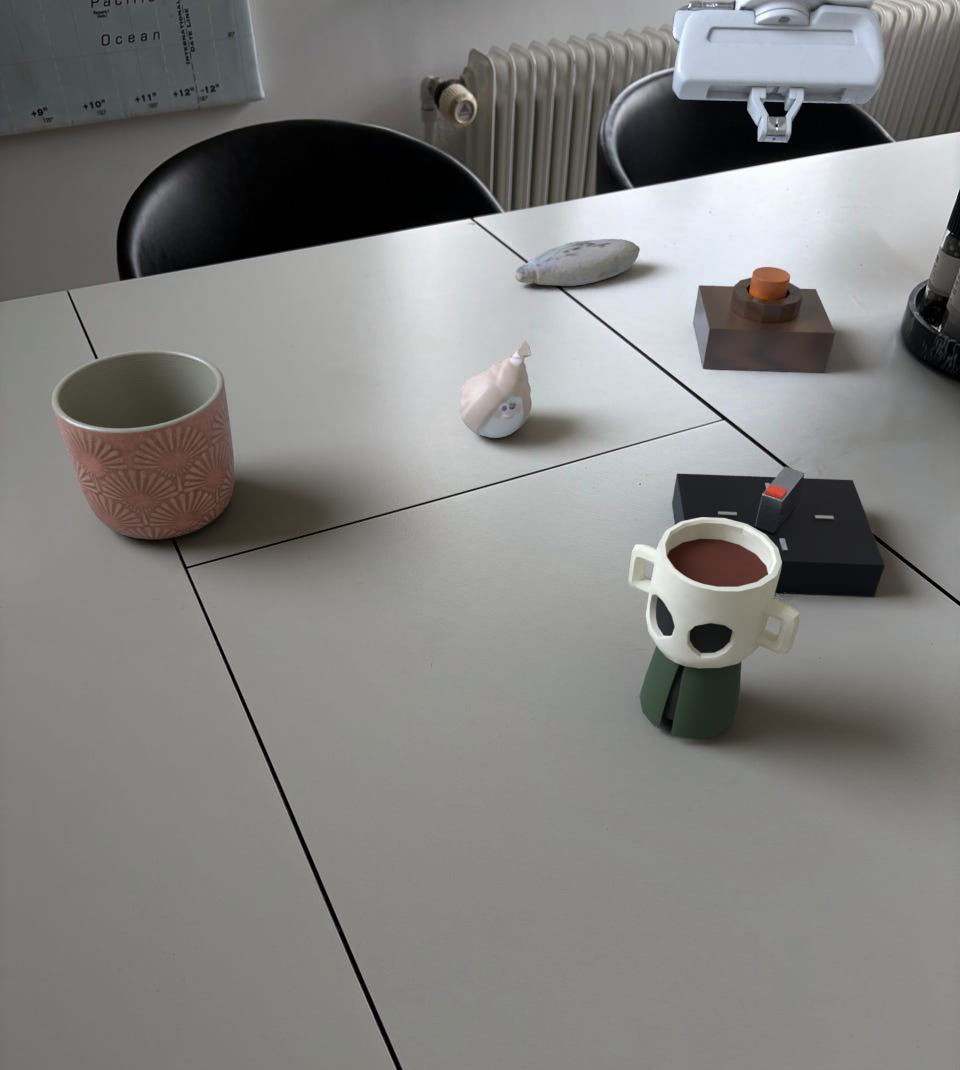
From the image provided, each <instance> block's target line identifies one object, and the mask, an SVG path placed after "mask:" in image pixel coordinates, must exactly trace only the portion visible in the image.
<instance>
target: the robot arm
mask: <svg viewBox="0 0 960 1070" xmlns="http://www.w3.org/2000/svg"><path fill="white" fill-rule="evenodd" d="M874 3H875V0H732V1H731V0H727V1H726V0H715V1H703V0H691V1H689V2H688V4H685V5H682V6H681V7H680V8H678V9H677V10H676V11H675V13H674V15H673V18H672V37H673V40H674V42H675V44H677V47H678V48H677V52H676V56H675V60H674V68H673V74H672V83H671V84H672V87H671V89H672V91H673V92H674V94H675V95H676V97H677V98H678V99H679V100H686V101H687V100H689V101H690V100H693V101H727V102H729V101H730V102H732V101H735V102H747V103H746V104H747V108H746V109H747V112H748V114H749V116H750V117H751V119H752V121H753V122H754V124H755V125H756V126H757V142H760V143H761V142H764V143H789V140H790V138H791V135H792V128H793V127H792V126H793V124H792V123H793V121H794V119H795V117H796V116H797V114H798V112H799V111H800V108H801V106H802V104H803V103H807V104H808V103H811V104H812V103H813V104H814V103H815V104H849V105H850V104H851V105H852V104H853V105H855V104H856V105H865V104H867V103H868V102H869V101H870V100H871V99H872V98H873V97H874V95H875V94H876V93H877V92H878V90H879V89H880V86H881V84H882V82H883V80H884V77H885V47H884V39H883V37H884V36H883V29H882V28H883V27H882V25H881V22H880V20H879V19H880V18H879V17H878V16H877V14H876V13H875V12H874V11H873V10H872V8H873V5H874ZM765 102H767V103H769V102H770V103H771V102H772V103H773V102H774V103H784V111H785V112H787V113H786V115H784V116H769V113H768V111H767V109H766V108H765V105H764V103H765Z"/></svg>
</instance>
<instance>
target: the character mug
mask: <svg viewBox="0 0 960 1070" xmlns="http://www.w3.org/2000/svg"><path fill="white" fill-rule="evenodd" d="M631 551H632V552H631V555H630V562H629V563H630V564H629V571H628V578H627V580H628V585H629V586H630V587H632V588H633V589H634V590H636V591H637V592H640V593H642V594H645V595H647V604H646V609H645V620H646V624H647V632H648V634H649V636H650V637H651V640H653V642H654V643H655V645H656V646H655V648H654V651H653V653H652V657H651V659H650V661H649V665H648V666H647V670H646V673H645V676H644V679H643V682H642V686H641V690H640V693H639V699H640V706H641V711H642V713H643V715H644V716H645V717H646V718H647V719H648V720H649V723H651V724H652V725H653V726H654V727H656V728H658V729H659V728H660V724H661V720H662V717H663V716H664V717H666V718H667V719H668V720H671V721H672V726H671V730H670V735H672V736H673V737H675V738H682V739H689V740H702V739H706V738H712V737H716V736H719V735H720V734H721V733H722V732H723V731H724V730H725V729H726V728H728V727H729V726H730V725H731V724H733V722H734V719H735V717H736V714H737V711H738V709H739V702H740V701H739V700H740V693H741V677H742V662H743V661H744V660H745V659H747V658H749V657H750V656H751V655H752V654H754V653H755V651H756V650H758V648H759V647H762V648H765V649H766V650H769V651H771V652H773V653H776V654H781V655H787V654H789V653H790V652H791V650H792V649H793V646H794V644H795V643H794V642H795V639H796V636H797V634H798V633H797V632H798V629H799V625H800V623H801V618H800V611H799V610H797V609H796V608H795V607H794V606H792V605H789V604H787V603H784V602H782V601H780V600H777V599H775V594H776V593H775V591H776V587H777V583H778V579H779V576H780V572H781V566H782V561H781V557H780V553H779V550H778V547H777V546H776V545H775V544H774V543H773V542H772V541H771V540H770V539H769V537H768V536H767V535H766V534H764V533H762V532H760V531H759V530H757V529H755V528H753V527H751V526H750V525H748V524H745V523H741V522H737V521H734V520H730V519H726V518H709V517H700V518H695V519H691V520H686V521H681V522H679V523H678V524H676V525H675V524H673V526H671V527H668V528H667V529H666V530H665V531H664V533H663V534H662V537H661V538H660V540H659V542H658V545H657V547H656V548H655V547H653V546H650V545H648V544H643V543H637V544H635V545H634V547H633V548H632V550H631ZM646 564H649V565H651V566H653V569H652V575H651V578H649V577H648V576H646V575H645V571H646ZM769 617H771V618H773V619H776V620H778V621H779V622H781V623H780V624H781V625H780V627H779V631H778V634H776V633H774V632H772V631H769V630H768V629H767V624H768V620H769Z"/></svg>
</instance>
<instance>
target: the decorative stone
mask: <svg viewBox="0 0 960 1070" xmlns="http://www.w3.org/2000/svg"><path fill="white" fill-rule="evenodd" d="M640 249H641V248H640V246H639V245H637V244H636V243H634V242H633V241H631V240H627V239H620V238H601V239H590V240H576V241H571V242H568V243H564V244H561V245H558V246H555V247H553V248H551V249H548V250H546V251H543V252H542V253H541V254H539V255H536V256H534V257H533V258H532V259H530V260H529V261H527V263H526V264H522V265H521V266H519V267H518V268H517V269H516V270H515V274H514V275H515V276H514V277H515V281H517V282H519V283H522V284H532V283H533V284H536V285H541V286H556V287H573V286H574V287H575V286H582V285H583V286H584V285H587V284H593V283H597V282H601V281H604V280H607V279H610V278H613V277H615V276H618V275H620V274H622V273H624V272H625V271H627V270H629V269H630V268H631V267H632V266H633V265H634V264H635V262H636V261H637V259H638V257H639V254H640V251H641V250H640Z"/></svg>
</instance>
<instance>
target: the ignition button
mask: <svg viewBox="0 0 960 1070" xmlns="http://www.w3.org/2000/svg"><path fill="white" fill-rule="evenodd" d="M751 278H752V279H751V284H750V289H749V294H751V295H752V296H754V297H757V298H761V299H765V300H780V299H784V298H786V295H787V290H788V286H789V282H790V281H791V274H790V273H789V272H788V271H787V270H785V269H783V268H779V267H773V266H762V267H757V268H755V269H753V271H752V274H751Z"/></svg>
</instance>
